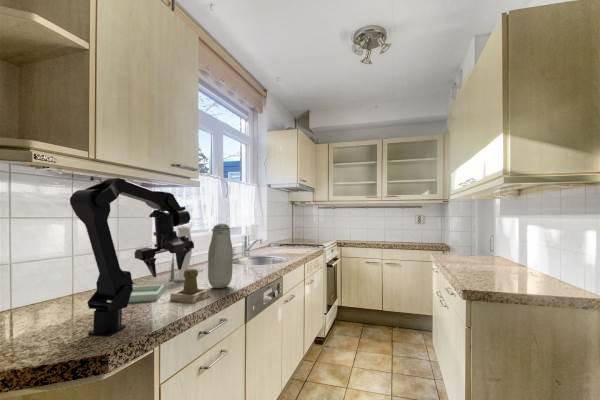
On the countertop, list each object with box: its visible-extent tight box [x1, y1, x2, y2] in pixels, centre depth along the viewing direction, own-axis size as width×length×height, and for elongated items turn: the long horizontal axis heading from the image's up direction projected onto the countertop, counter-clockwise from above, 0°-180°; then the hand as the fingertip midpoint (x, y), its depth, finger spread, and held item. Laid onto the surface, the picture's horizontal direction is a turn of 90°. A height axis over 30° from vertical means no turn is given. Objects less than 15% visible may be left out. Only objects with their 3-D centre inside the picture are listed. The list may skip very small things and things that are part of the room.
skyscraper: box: [169, 221, 193, 283], centre depth 145 cm, size 8×8×28 cm
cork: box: [183, 268, 199, 295], centre depth 113 cm, size 6×6×11 cm
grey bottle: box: [207, 223, 234, 289], centre depth 130 cm, size 10×10×28 cm
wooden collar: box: [169, 288, 210, 304], centre depth 113 cm, size 10×10×2 cm
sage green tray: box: [128, 284, 166, 304], centre depth 114 cm, size 15×15×2 cm
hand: (167, 273), depth 103 cm, fingers open, 9 cm apart
